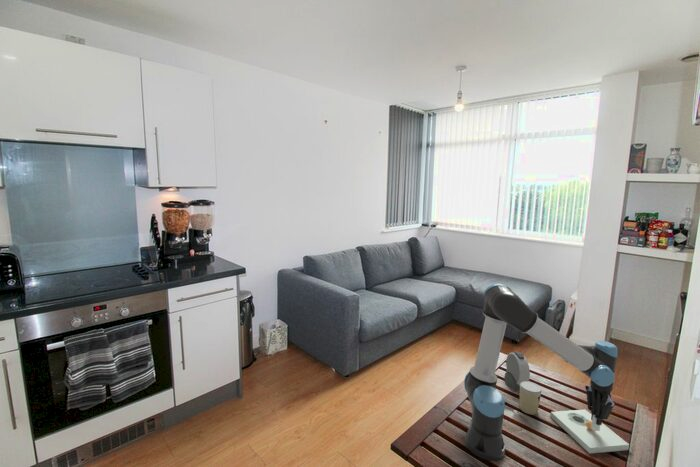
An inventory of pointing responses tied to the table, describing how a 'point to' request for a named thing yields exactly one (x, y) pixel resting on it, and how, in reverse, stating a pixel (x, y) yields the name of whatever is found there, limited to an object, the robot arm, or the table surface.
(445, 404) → the table surface
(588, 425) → the ball
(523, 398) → the coffee cup
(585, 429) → the plate
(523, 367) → the alarm clock
